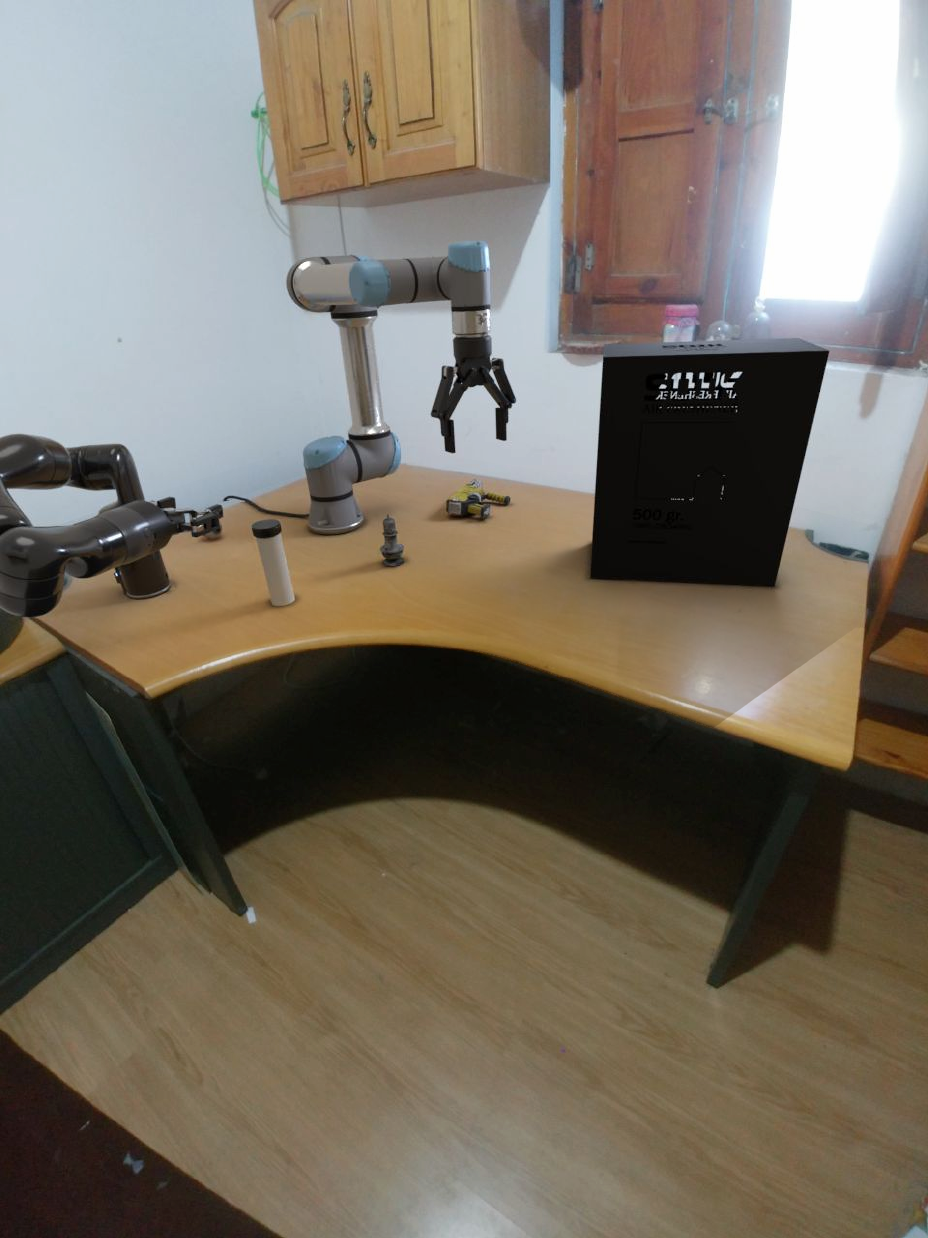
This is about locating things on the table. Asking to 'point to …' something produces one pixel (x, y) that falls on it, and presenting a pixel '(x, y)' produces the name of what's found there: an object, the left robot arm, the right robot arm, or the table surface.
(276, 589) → the jar
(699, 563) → the cardboard box
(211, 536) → the eyeball
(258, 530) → the lid
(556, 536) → the table surface
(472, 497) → the toy gun
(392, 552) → the grey stepped tapered figure
